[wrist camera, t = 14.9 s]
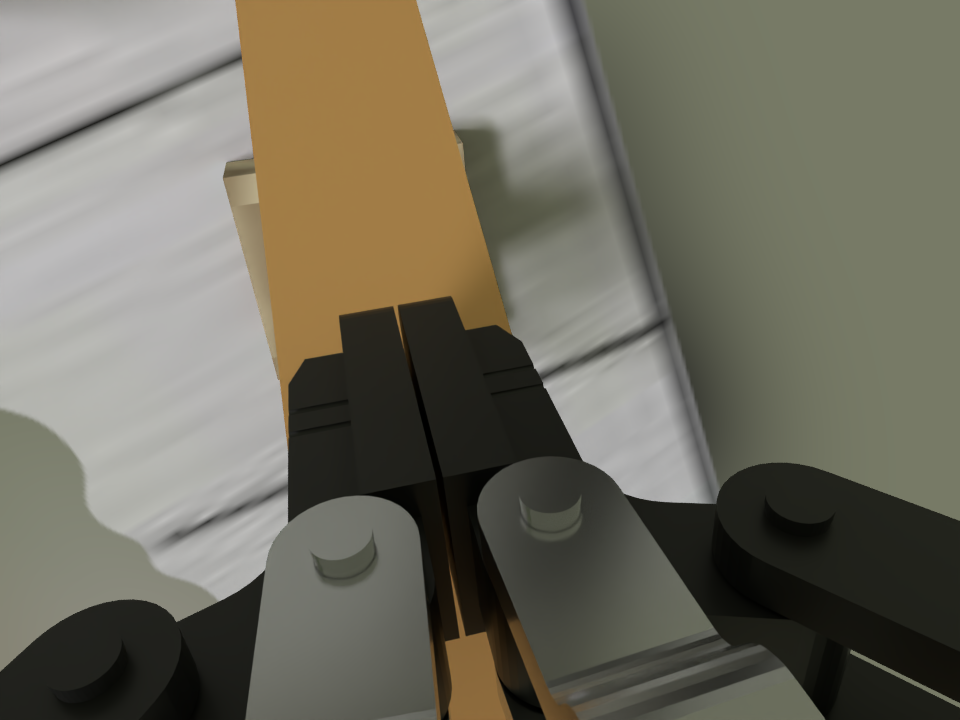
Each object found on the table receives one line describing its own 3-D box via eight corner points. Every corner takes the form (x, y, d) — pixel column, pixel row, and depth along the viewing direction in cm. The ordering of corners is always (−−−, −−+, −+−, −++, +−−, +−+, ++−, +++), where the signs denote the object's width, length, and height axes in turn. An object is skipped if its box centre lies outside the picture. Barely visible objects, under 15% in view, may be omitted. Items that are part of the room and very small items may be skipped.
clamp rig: (287, 391, 47) (287, 666, 30) (129, -197, 31) (-53, -292, 14) (476, 356, 49) (574, 599, 32) (419, -220, 33) (555, -329, 16)
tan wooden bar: (434, 1701, 6) (428, 2012, 5) (221, -114, 18) (200, -197, 17) (848, 1528, 7) (967, 1757, 5) (376, -129, 19) (369, -210, 17)
